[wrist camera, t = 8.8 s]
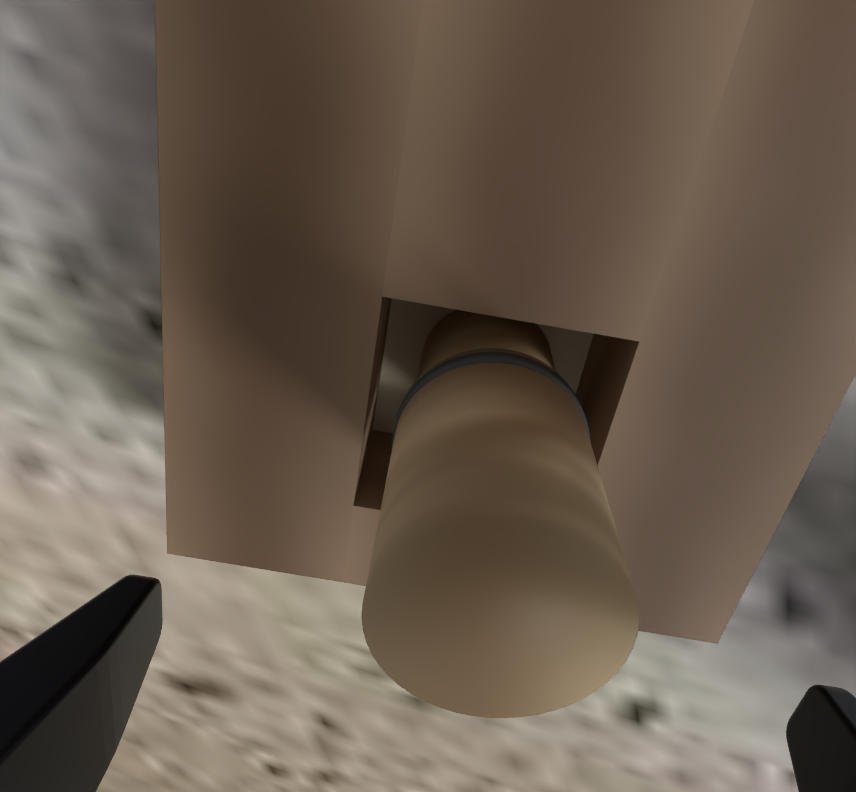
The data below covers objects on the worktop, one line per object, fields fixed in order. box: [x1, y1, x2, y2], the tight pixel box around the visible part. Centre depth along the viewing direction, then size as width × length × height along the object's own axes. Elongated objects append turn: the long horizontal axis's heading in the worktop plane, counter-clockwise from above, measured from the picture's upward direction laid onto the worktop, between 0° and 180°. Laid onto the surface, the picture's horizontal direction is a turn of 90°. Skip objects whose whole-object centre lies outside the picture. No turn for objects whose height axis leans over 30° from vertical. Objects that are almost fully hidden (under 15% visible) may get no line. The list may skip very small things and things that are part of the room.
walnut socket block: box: [155, 0, 856, 644], centre depth 14 cm, size 14×20×4 cm
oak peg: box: [362, 310, 639, 718], centre depth 14 cm, size 4×4×9 cm
